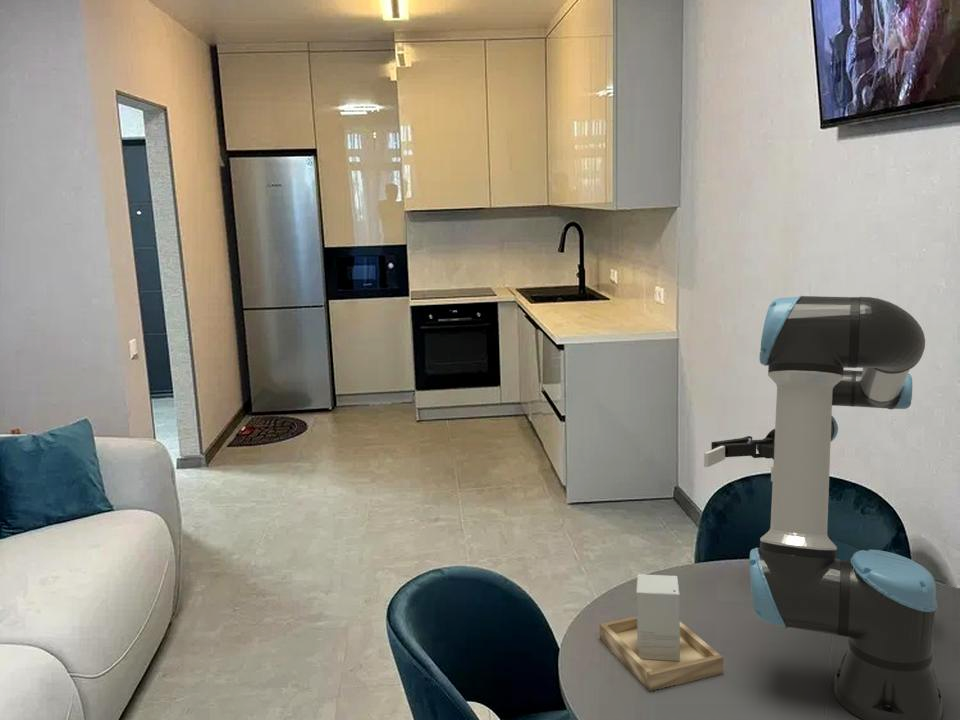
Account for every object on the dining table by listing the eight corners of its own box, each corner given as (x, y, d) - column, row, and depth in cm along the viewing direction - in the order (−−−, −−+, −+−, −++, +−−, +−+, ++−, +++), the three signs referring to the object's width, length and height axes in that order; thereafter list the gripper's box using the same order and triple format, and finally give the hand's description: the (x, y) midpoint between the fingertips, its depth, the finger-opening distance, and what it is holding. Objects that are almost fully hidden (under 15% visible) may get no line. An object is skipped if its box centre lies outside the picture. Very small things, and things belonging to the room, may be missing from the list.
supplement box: (678, 640, 142) (679, 575, 140) (680, 662, 135) (680, 594, 133) (637, 637, 144) (637, 572, 142) (636, 659, 137) (636, 591, 135)
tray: (722, 673, 133) (723, 657, 133) (650, 691, 129) (650, 675, 128) (665, 623, 150) (665, 609, 150) (599, 638, 146) (599, 623, 145)
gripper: (852, 471, 153) (803, 501, 139) (734, 448, 171) (680, 472, 157) (853, 434, 152) (804, 460, 137) (734, 415, 170) (680, 436, 155)
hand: (738, 467), depth 147 cm, fingers open, 13 cm apart
